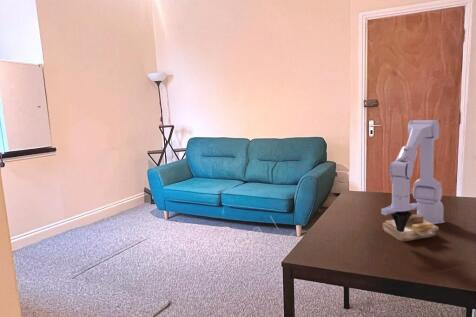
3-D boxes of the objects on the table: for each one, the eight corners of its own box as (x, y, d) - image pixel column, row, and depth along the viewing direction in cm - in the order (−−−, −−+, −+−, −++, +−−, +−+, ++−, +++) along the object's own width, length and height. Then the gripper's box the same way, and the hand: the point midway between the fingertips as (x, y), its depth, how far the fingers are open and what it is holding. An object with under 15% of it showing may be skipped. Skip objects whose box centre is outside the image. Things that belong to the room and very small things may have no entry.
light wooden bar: (428, 227, 127) (428, 222, 126) (432, 229, 125) (432, 223, 124) (411, 229, 125) (411, 224, 125) (415, 231, 123) (415, 226, 123)
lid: (417, 219, 138) (417, 209, 138) (444, 232, 124) (444, 222, 123) (385, 223, 137) (385, 213, 136) (409, 237, 122) (409, 227, 121)
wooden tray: (413, 225, 140) (413, 218, 139) (435, 236, 128) (435, 228, 128) (382, 230, 137) (382, 223, 137) (402, 241, 126) (402, 234, 125)
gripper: (409, 189, 126) (409, 224, 129) (375, 194, 123) (375, 230, 125) (424, 194, 120) (423, 230, 122) (388, 199, 116) (388, 237, 118)
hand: (400, 230), depth 123 cm, fingers closed
